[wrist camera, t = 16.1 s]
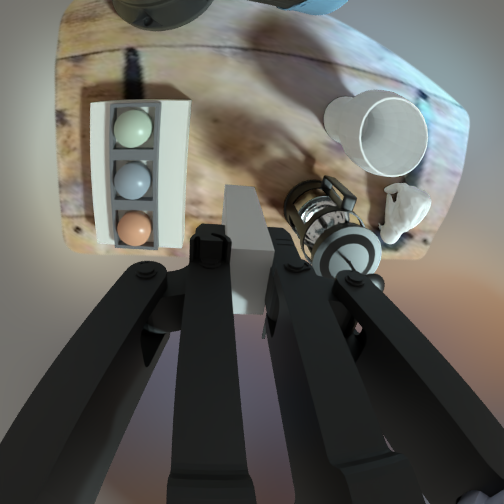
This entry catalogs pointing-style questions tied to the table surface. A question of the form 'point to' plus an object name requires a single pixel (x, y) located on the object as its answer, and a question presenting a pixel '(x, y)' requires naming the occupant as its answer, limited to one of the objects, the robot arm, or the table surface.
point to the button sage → (133, 128)
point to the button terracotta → (134, 227)
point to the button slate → (133, 180)
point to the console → (154, 157)
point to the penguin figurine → (403, 210)
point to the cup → (378, 131)
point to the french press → (333, 231)
